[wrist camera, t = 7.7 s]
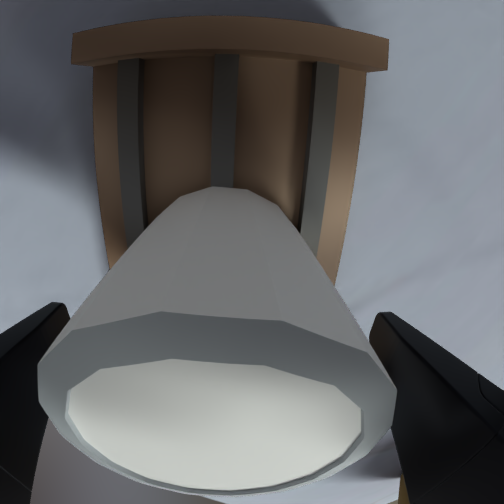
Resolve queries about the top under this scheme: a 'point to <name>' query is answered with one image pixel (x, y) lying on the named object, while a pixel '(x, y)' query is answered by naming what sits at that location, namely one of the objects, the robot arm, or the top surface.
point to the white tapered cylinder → (217, 358)
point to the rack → (228, 118)
